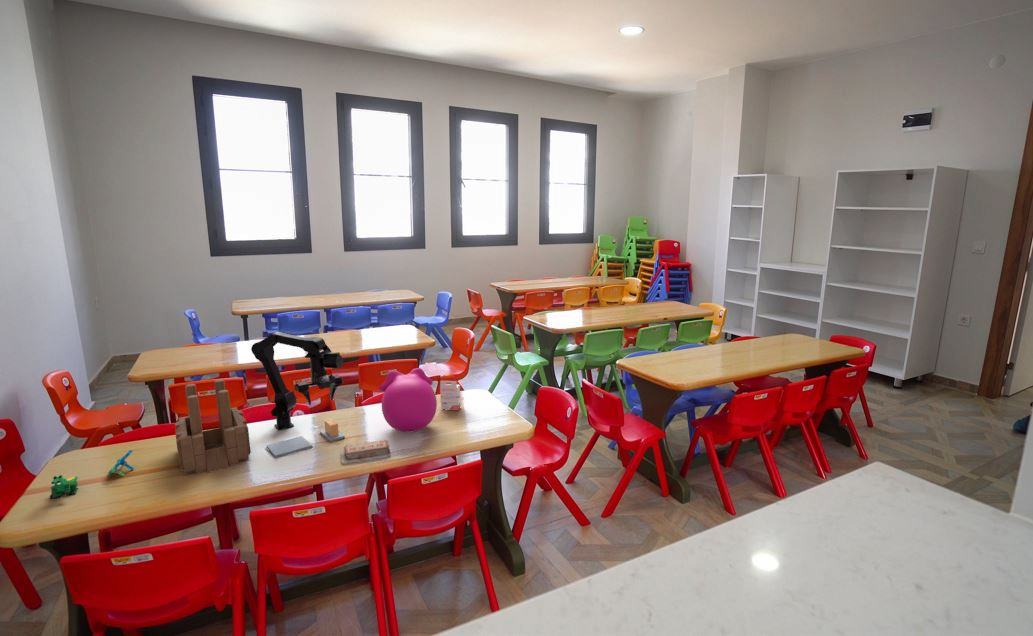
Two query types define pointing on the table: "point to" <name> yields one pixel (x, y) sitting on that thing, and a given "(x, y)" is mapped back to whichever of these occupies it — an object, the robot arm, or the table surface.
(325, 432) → the stub
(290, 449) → the ticket board
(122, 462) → the blue green toy
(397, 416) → the figurine
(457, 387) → the ink cartridge box
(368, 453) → the packaged product
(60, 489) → the crocodile
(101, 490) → the table surface
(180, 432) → the wooden toy structure
